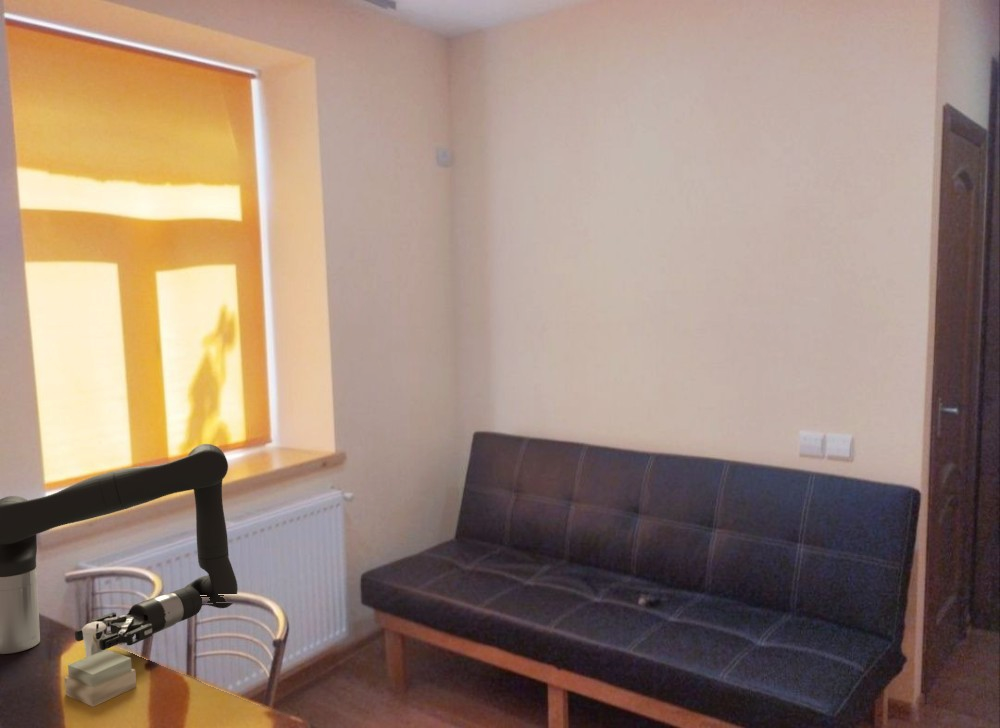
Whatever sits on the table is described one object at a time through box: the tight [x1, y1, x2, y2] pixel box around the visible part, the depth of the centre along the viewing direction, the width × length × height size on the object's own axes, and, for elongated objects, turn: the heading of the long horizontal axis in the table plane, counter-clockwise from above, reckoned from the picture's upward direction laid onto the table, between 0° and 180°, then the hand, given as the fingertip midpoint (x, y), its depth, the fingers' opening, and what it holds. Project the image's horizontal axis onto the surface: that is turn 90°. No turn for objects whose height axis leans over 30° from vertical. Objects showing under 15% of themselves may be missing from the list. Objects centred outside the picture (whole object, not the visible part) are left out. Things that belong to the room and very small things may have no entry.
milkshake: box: [81, 621, 107, 658], centre depth 166 cm, size 4×5×10 cm
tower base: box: [64, 649, 137, 708], centre depth 156 cm, size 9×9×6 cm
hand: (88, 640), depth 165 cm, fingers open, 8 cm apart
